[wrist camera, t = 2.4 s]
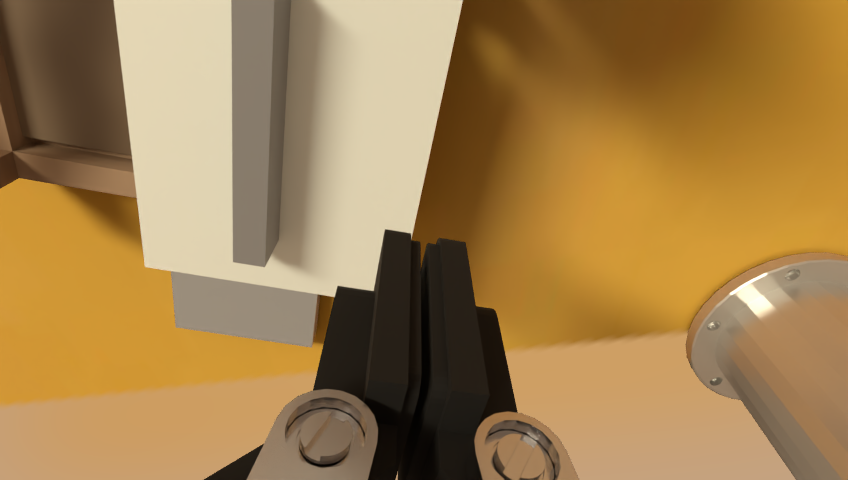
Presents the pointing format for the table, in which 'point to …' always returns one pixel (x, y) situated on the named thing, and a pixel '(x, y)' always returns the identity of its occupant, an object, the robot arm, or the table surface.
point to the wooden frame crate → (63, 96)
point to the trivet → (244, 309)
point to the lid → (281, 132)
